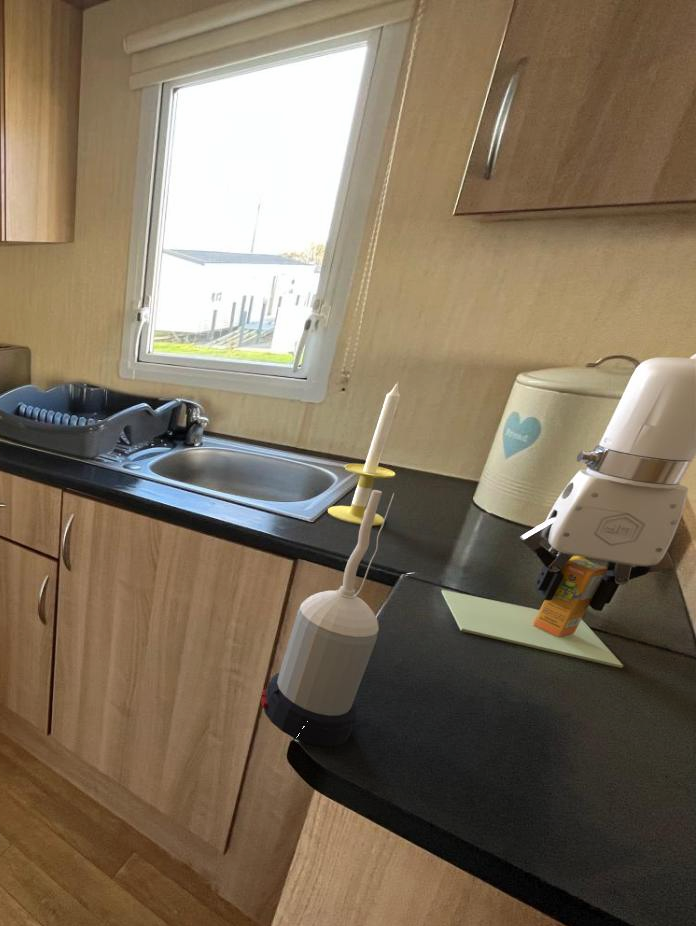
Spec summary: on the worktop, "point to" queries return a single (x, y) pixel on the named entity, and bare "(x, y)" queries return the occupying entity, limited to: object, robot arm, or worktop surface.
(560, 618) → the supplement box
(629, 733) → the worktop surface
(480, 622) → the mat
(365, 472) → the candle
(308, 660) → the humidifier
